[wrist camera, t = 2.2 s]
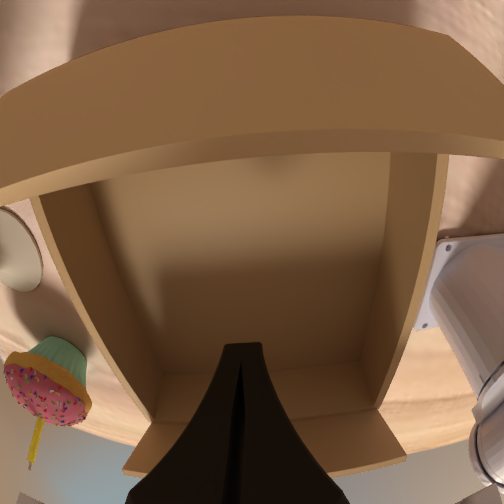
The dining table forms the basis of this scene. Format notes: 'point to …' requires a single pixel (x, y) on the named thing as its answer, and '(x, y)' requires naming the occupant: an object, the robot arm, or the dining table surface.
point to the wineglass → (18, 254)
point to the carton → (252, 273)
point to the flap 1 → (247, 100)
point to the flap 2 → (313, 436)
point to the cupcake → (49, 385)
